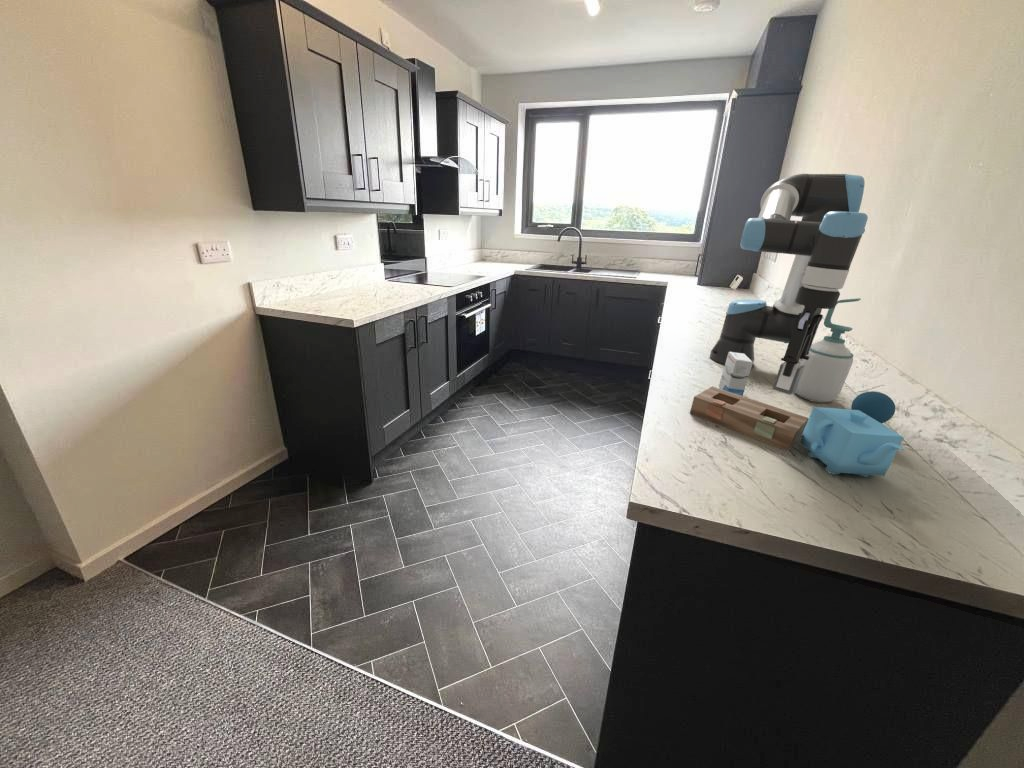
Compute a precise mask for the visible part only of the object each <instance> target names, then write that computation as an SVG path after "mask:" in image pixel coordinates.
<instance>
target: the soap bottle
mask: <svg viewBox="0 0 1024 768" xmlns="http://www.w3.org/2000/svg"><path fill="white" fill-rule="evenodd" d="M859 301H861V298H859V297H858V298H847V299H846V298H845V299H840V300H839V299H838V301H837V304H836V306H837V305H838V304H843V303H853V302H859ZM836 306H835V307H834V308H832V309H827V312H826V315H825V318H824V321H823V325H824V327H825V328H828V329H830V332H832V333H831V335H830V336H828V335H825V336H824V337H823V339H822V340H820V341H817V342H812V345H811V347H810V350H809V354H808V355H806V356H808V357H809V359H808V360H805V359H804V362H803V365H802V366H805V367H804V369H803V372H802V375H801V378H800V380H799V383H798V386H797V389H796V391H795V392H794V393H795V394H796V395H797V396H798V397H800V398H802V399H805V400H807V401H809V402H815V403H829V402H833V401H835V400H836V399H837V398H838V397H839V396H840V394H841V392H842V389H843V388H844V385H845V383H846V380H847V378H848V375H849V373H850V371H851V369H852V366H853V363H854V354H853V353H852V352H851V350H850V349H849V348H848V347H846V345H845V342H846V340H845V339H843V338H841V335H844V334H845V333H846V332H851V331H852V330H853V328H852V327H851V326H850V327H849V326H845V325H839V324H836V323H832V321H831V320H832V316H833V314H834V312H835V309H836Z"/></svg>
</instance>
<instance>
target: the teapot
mask: <svg viewBox="0 0 1024 768" xmlns="http://www.w3.org/2000/svg"><path fill="white" fill-rule="evenodd" d="M808 418H809V419H808V422H807V424H806V427H805V429H804V432H803V434H802V436H801V437H800V439H799V444H801V445H802V446H804V447H805V449H807V450H808V452H807V456H809V457H811V458H814V459H819V460H820V461H821V462H822V463H823V464H824V465H826V467H825V468H824V469H826V470H827V471H829V472H831V473H834V474H833V475H835V474H839V475H840V474H854V475H857V476H860V477H863V476H864V477H865V478H868V477H869V476H878V477H879V476H880V477H881V476H883V477H885V476H886V474H887V471H888V469H889V468H890V466H891V464H892V462H893V460H894V458H895V455H896V454H897V453H898V450H905V448H904V447H903V446H901V444H902V442H903V440H904V436H903V435H901V434H899V433H898V432H896V431H894V430H893V429H891V428H890V427H888V426H886V425H885V423H882V424H881V423H880V422H878V421H876V420H875V419H873V418H871V417H870V416H868V415H866V414H865V413H863V412H861V411H860V410H852V409H851V408H849V409H846V408H835V407H820V406H813V408H812V409H811V412H810V415H809V417H808ZM826 470H825V471H826ZM827 471H826V472H827ZM829 472H828V473H829ZM831 473H830V474H831Z"/></svg>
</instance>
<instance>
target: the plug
mask: <svg viewBox="0 0 1024 768" xmlns="http://www.w3.org/2000/svg"><path fill="white" fill-rule="evenodd" d="M803 361H804V359H799V362H798V364H799V365H798V368H797V370H796V373H795V376H794V379H793V382H792V384H791V387H790V390H786V389H782V388H779V387H776V385H777V382H778V379H779V376H780V374H781V371H782V368H783V365H784V362H781V363H780V364H779V365H780V366H779V369H778V371H777V374H776V378H775V380H774V383H773V386H772V390H774V391H777V392H780V393H784V394H787V395H790V396H792V395H793V394H794V393H795V391H796V389H797V386H798V383H799V380H800V378H801V375H802V372H803V369H804V367H805V366H802V364H803Z"/></svg>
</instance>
